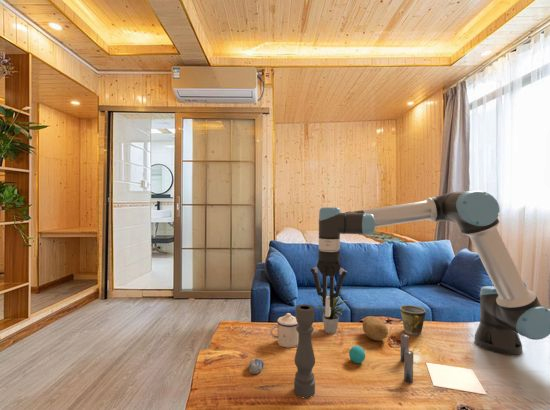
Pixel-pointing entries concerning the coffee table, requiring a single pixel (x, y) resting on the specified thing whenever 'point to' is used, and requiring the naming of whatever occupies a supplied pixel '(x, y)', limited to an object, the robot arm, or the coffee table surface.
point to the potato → (375, 328)
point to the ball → (357, 354)
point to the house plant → (332, 316)
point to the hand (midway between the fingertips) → (327, 315)
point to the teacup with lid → (286, 331)
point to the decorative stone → (255, 366)
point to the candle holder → (304, 352)
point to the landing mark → (454, 378)
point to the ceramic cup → (412, 319)
